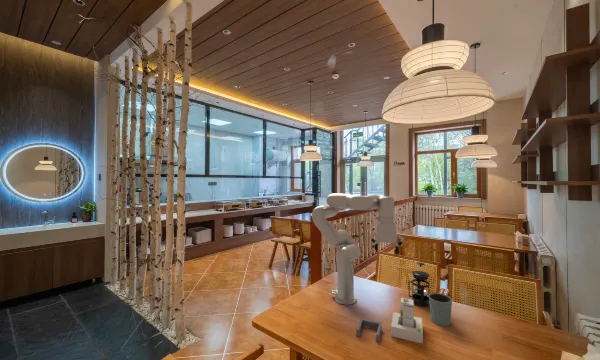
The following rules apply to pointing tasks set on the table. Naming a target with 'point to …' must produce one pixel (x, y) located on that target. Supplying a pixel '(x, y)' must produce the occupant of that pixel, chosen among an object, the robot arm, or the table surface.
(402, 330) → the port
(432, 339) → the table surface
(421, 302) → the french press
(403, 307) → the syrup box
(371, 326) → the grey u-shaped bracket
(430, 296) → the grey embossed plant pot
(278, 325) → the table surface
